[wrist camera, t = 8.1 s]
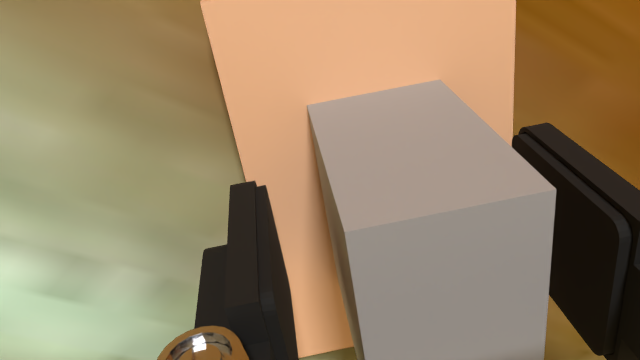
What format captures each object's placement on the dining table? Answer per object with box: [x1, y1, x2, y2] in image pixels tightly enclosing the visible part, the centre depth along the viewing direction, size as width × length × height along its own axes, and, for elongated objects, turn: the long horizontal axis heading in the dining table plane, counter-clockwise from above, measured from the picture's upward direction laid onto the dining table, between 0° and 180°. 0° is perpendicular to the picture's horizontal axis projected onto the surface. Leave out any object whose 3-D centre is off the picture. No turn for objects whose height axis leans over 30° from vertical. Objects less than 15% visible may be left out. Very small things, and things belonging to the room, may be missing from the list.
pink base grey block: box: [200, 0, 556, 360], centre depth 11 cm, size 6×10×6 cm, turn 9°
